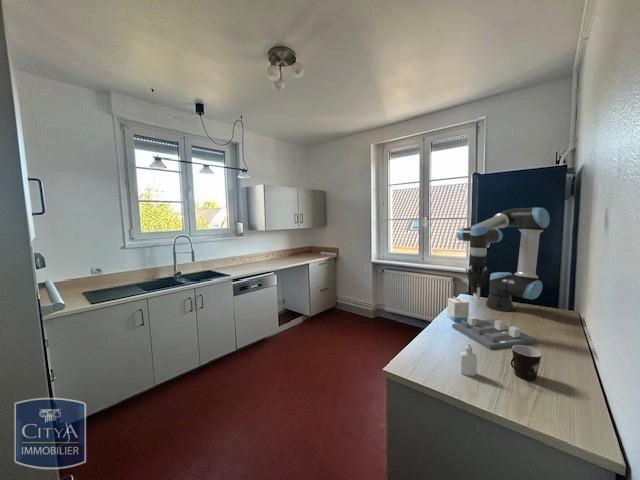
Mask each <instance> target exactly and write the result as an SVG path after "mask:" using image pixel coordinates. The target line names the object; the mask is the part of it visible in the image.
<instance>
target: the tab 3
mask: <svg viewBox="0 0 640 480" xmlns="http://www.w3.org/2000/svg"><path fill="white" fill-rule="evenodd" d="M520 332H521V328H519V327H516V326H509V335H510V336H512V337H514V338H516V337H520Z"/></svg>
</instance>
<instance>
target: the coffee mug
mask: <svg viewBox="0 0 640 480" xmlns="http://www.w3.org/2000/svg"><path fill="white" fill-rule="evenodd" d="M511 350H512V359H511V360H510V366H511V367H512V368H513V370H514V375H515V377H517V378H519V379H520V380H524V381H527V382H535V381H536V380H537V377H538V373H539V367H540V364H541V359H542V353H541V352H540V350H538V349H536V348H533V347H531V346H528V345H524V344H523V345H514V346H511Z"/></svg>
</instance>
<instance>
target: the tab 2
mask: <svg viewBox="0 0 640 480" xmlns="http://www.w3.org/2000/svg"><path fill="white" fill-rule="evenodd" d="M505 325H506V322H505V321H503V320H501V319H498V320H496V319H495V327H494V328H495V329H497V330H499V331H500V330H505Z"/></svg>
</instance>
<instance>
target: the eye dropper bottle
mask: <svg viewBox="0 0 640 480" xmlns="http://www.w3.org/2000/svg"><path fill="white" fill-rule="evenodd" d="M477 366H478V357H477V354H476V353H474V352H473V347H472V346H471V343H470V342H469V343H467V345H465V346H464V351H462V352H460V353H459V373H460V374H461V375H465V376H469V377H473V376H476V375H477V371H478V370H477V368H478V367H477Z"/></svg>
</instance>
